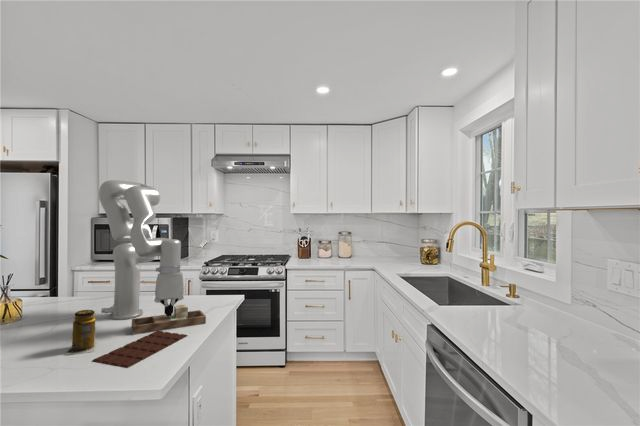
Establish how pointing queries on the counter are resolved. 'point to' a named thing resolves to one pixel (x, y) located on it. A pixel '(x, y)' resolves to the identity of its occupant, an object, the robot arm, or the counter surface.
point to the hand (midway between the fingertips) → (168, 315)
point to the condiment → (83, 333)
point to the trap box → (166, 322)
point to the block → (180, 311)
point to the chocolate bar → (139, 349)
